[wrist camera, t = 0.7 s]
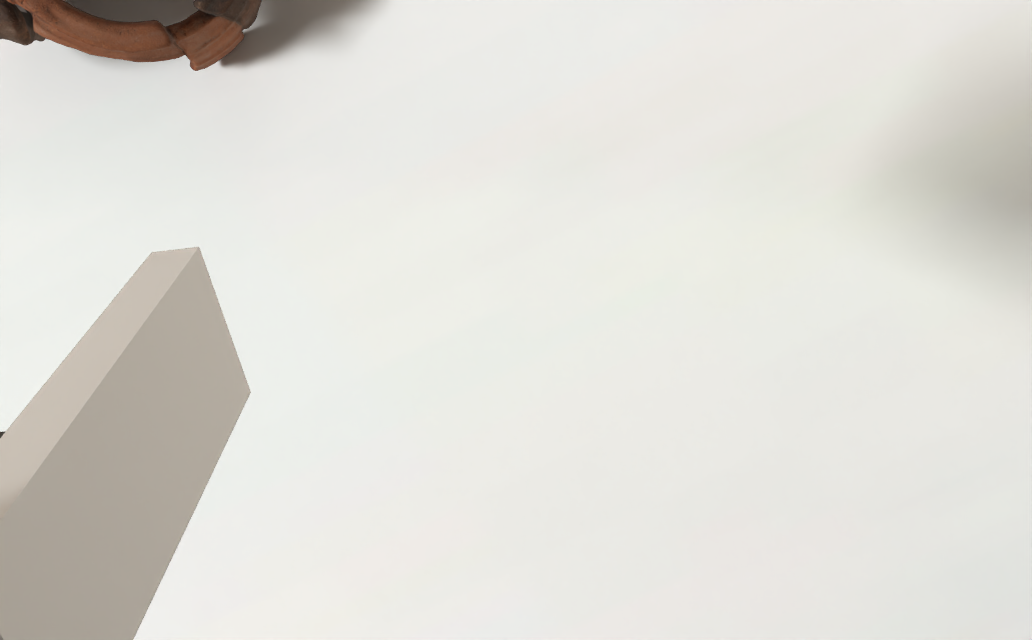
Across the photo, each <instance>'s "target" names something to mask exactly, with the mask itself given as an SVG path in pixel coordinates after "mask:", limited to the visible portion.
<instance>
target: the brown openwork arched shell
mask: <svg viewBox="0 0 1032 640" xmlns="http://www.w3.org/2000/svg"><path fill="white" fill-rule="evenodd" d="M260 4H261V0H195V1H194V6H195V7H196V8H197V9H199V11H197V12H196V13H194V14H192V15H191V16H189V17H188V18H187V19H185V20H183V21H181V22H179V23H176V24H173V25H169V26H166V27H165V26H163V25H162V24H161V23H160V22H159V21H157V20H151V21H141V22H118V21H111V20H106V19H103V18H99V17H96V16H93V15H90V14H88V13H85V12H83V11H81V10H79V9H77V8H75V7H73V6H71V5H70V4H68V3H67V2H65V1H63V0H0V39H7V40H11V41H13V42H16V43H19V44H22V45H29V44H31V43H32V42H33V41H34V40H37V41H44V40H45V39H49V40H52V41H54V42H56V43H59V44H62V45H64V46H67V47H71V48H74V49H77V50H80V51H82V52H85V53H88V54H91V55H96V56H102V57H108V58H114V59H123V60H128V61H134V62H156V61H165V60H170V59H176V58H179V57H181V56H183V55H186V56H187V57H188V59H189V60H190V67H191V68H192V69H193V70H195V71H198V70H201V69H205V68H207V67H209V66H211V65H212V64H214V63H216V62H217V61H219V60H220V59H221V58H223V57H224V56H226V55H227V54H228V53H230V52H231V51H232V50H233V49H234V48H235V47H236V46H237V45H238V43H240V42H241V41H242V40H243V38H244V34H243V32H242V30H243V29H247V28H249V27H250V26H251V25H252V24H253V22H254V21H255V19H256V17H257V13H258V10H259V7H260Z"/></svg>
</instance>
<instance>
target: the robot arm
mask: <svg viewBox="0 0 1032 640" xmlns="http://www.w3.org/2000/svg"><path fill="white" fill-rule="evenodd" d="M250 393H251V392H250V389H249V386H248V383H247V380H246V378H245V375H244V372H243V369H242V366H241V364H240V361H239V358H238V355H237V352H236V349H235V347H234V344H233V341H232V338H231V335H230V333H229V330H228V327H227V324H226V321H225V319H224V316H223V313H222V310H221V307H220V304H219V302H218V299H217V296H216V293H215V290H214V288H213V285H212V282H211V279H210V276H209V274H208V271H207V268H206V265H205V262H204V260H203V257H202V254H201V251H200V248H199V247H194V248H185V249H177V250H168V251H160V252H152V253H151V254H150V255H149V256H148V257H147V259H146V260H145V261H144V262H143V264H142V265H141V266H140V267H139V269H138V270H137V271H136V272H135V273H134V275H133V276H132V277H131V278H130V280H129V281H128V282H127V283H126V284H125V286H124V287H123V288H122V289H121V291H120V292H119V293H118V294H117V296H116V297H115V298H114V299H113V300H112V302H111V303H110V304H109V305H108V307H107V308H106V309H105V310H104V311H103V313H102V314H101V315H100V316H99V318H98V319H97V320H96V321H95V323H94V324H93V325H92V326H91V327H90V329H89V330H88V331H87V332H86V334H85V335H84V336H83V337H82V339H81V340H80V341H79V342H78V343H77V345H76V346H75V347H74V348H73V350H72V351H71V352H70V353H69V354H68V356H67V357H66V358H65V359H64V361H63V362H62V363H61V364H60V366H59V367H58V368H57V369H56V370H55V372H54V373H53V374H52V375H51V377H50V378H49V379H48V380H47V382H46V383H45V384H44V385H43V386H42V388H41V389H40V390H39V391H38V393H37V394H36V395H35V396H34V397H33V399H32V400H31V401H30V402H29V404H28V405H27V406H26V407H25V409H24V410H23V411H22V412H21V413H20V415H19V416H18V417H17V418H16V420H15V421H14V422H13V423H12V424H11V426H10V427H9V428H8V429H7V431H6V432H0V640H133V639H134V637H135V635H136V633H137V630H138V628H139V626H140V624H141V622H142V620H143V618H144V616H145V614H146V612H147V609H148V607H149V605H150V603H151V601H152V599H153V597H154V595H155V593H156V590H157V588H158V586H159V584H160V582H161V580H162V578H163V576H164V574H165V572H166V569H167V567H168V565H169V563H170V561H171V559H172V557H173V555H174V553H175V550H176V548H177V546H178V544H179V542H180V540H181V538H182V536H183V534H184V532H185V529H186V527H187V525H188V523H189V521H190V519H191V517H192V515H193V513H194V510H195V508H196V506H197V504H198V502H199V500H200V498H201V496H202V494H203V492H204V489H205V487H206V485H207V483H208V481H209V479H210V477H211V475H212V473H213V471H214V468H215V466H216V464H217V462H218V460H219V458H220V456H221V454H222V452H223V449H224V447H225V445H226V443H227V441H228V439H229V437H230V435H231V433H232V431H233V428H234V426H235V424H236V422H237V420H238V418H239V416H240V414H241V412H242V409H243V407H244V405H245V403H246V401H247V399H248V397H249V395H250Z"/></svg>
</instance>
